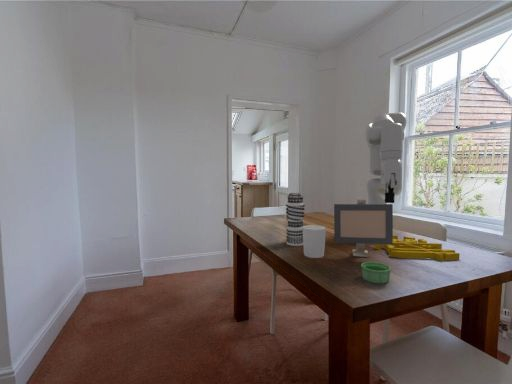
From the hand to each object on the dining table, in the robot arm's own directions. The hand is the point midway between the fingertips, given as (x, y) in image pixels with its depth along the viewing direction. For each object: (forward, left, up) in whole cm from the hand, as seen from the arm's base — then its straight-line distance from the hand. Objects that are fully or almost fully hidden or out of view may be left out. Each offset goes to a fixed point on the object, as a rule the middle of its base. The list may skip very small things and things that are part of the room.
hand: (389, 202), depth 106 cm
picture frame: (0, -10, -17) cm, 19 cm away
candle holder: (+2, -29, -23) cm, 37 cm away
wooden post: (-3, -10, -23) cm, 25 cm away
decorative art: (-19, +12, -24) cm, 33 cm away
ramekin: (+23, -8, -23) cm, 34 cm away
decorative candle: (-15, -39, -23) cm, 48 cm away
